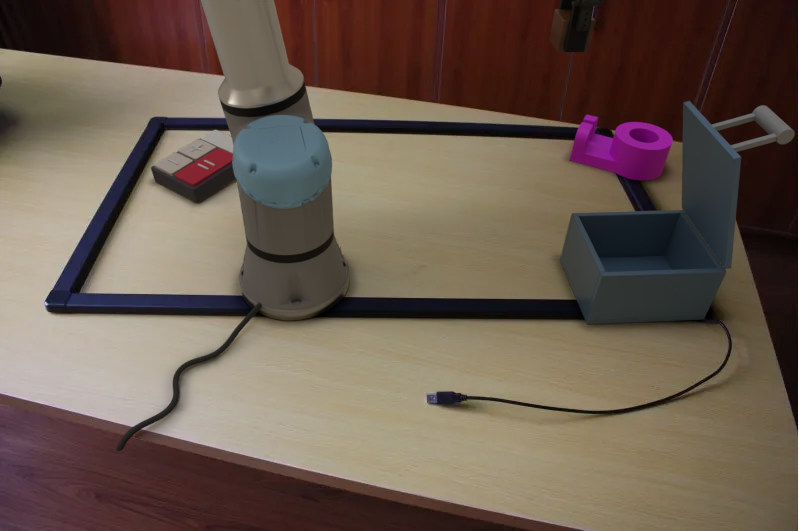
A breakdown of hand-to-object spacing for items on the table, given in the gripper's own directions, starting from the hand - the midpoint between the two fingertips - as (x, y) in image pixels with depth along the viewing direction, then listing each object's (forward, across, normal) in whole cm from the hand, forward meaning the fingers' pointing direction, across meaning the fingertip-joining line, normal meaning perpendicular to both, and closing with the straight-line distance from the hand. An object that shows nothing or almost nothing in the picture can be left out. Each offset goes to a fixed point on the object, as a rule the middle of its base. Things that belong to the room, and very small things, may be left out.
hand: (568, 43), depth 93 cm
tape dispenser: (+27, -10, +18) cm, 34 cm away
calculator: (+27, -10, -56) cm, 63 cm away
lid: (+9, +24, +12) cm, 29 cm away
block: (0, 0, 0) cm, 0 cm away
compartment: (+27, +24, +7) cm, 36 cm away
